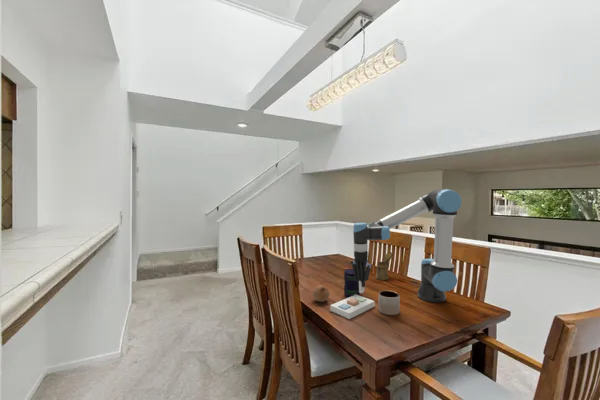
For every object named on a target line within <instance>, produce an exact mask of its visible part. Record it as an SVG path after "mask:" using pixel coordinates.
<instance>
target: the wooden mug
mask: <svg viewBox="0 0 600 400" xmlns="http://www.w3.org/2000/svg"><path fill="white" fill-rule="evenodd" d="M392 258H393V252H391V251H390V252H387V253H386V254H385V256H384V261H377V263H376V267H377V268H376V274H375V279H376V280H381V281H387V280H388V279H389V274H388V269H389V261H390V260H391V259H392Z"/></svg>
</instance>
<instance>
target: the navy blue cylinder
mask: <svg viewBox="0 0 600 400" xmlns="http://www.w3.org/2000/svg"><path fill="white" fill-rule="evenodd" d="M343 272H344V274H343V280H344V286H343V292H344V294H343V295H344V297H345V298H349V297H351V296H353V295H359V296H361V293H360V292H359V286H358V280H357V279H355V276H354V271H353V268H347V269H344V270H343Z"/></svg>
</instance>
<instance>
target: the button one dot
mask: <svg viewBox="0 0 600 400" xmlns="http://www.w3.org/2000/svg"><path fill="white" fill-rule="evenodd" d="M338 307H339V308H341V309H344V310H347V309H349V308H351V306H349V305H346V304H342V305H340V306H338Z"/></svg>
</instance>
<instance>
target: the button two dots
mask: <svg viewBox="0 0 600 400" xmlns="http://www.w3.org/2000/svg"><path fill="white" fill-rule="evenodd" d="M362 297H363V296H362ZM362 297H358V298H356V300H359V302H364V301H366V300H367V299H368V298H367V299H365V298H366V297H364V298H362Z"/></svg>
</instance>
